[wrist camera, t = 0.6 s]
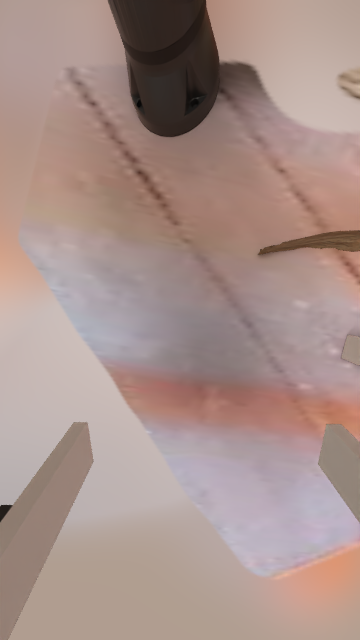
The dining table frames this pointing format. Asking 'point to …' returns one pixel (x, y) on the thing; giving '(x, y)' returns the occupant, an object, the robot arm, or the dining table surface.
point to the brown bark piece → (321, 242)
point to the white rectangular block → (352, 350)
